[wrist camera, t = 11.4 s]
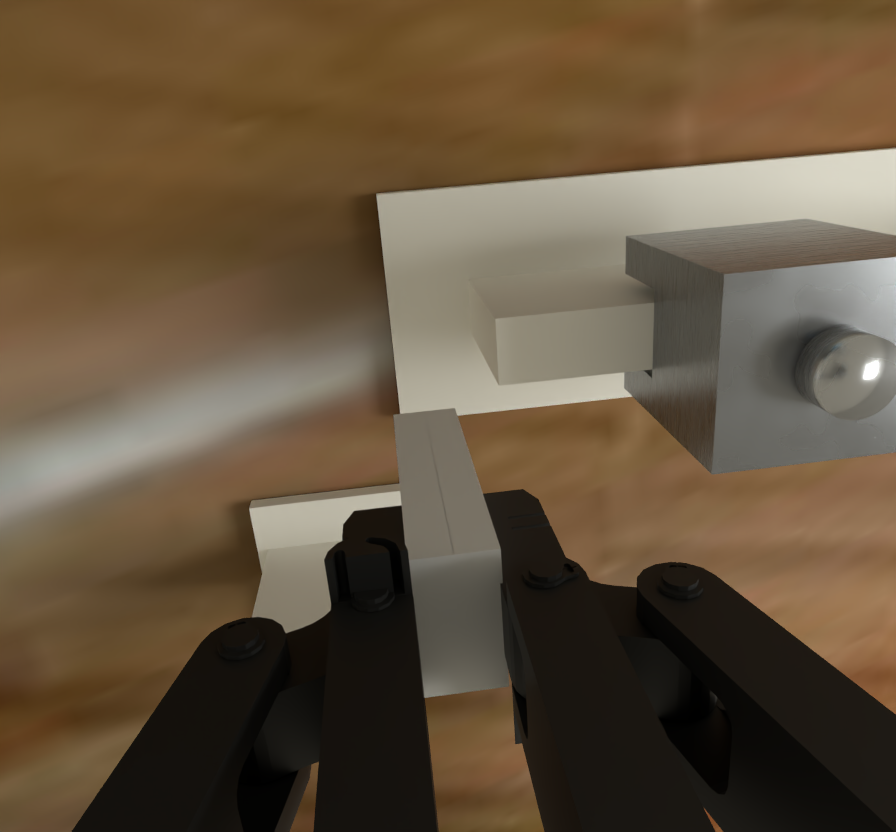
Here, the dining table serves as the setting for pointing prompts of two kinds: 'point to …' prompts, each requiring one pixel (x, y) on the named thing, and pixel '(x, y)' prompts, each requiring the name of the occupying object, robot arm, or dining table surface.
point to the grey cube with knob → (770, 341)
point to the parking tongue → (304, 548)
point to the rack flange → (575, 269)
